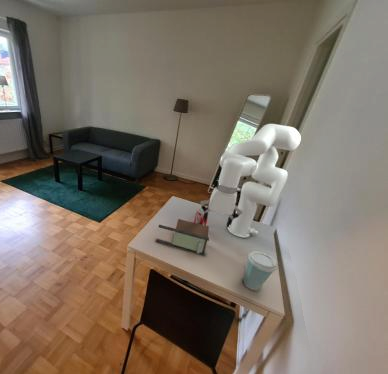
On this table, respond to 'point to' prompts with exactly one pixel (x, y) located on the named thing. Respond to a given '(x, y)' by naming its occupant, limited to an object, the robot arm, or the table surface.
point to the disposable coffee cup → (258, 269)
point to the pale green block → (188, 242)
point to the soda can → (200, 217)
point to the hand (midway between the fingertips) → (216, 222)
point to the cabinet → (188, 233)
